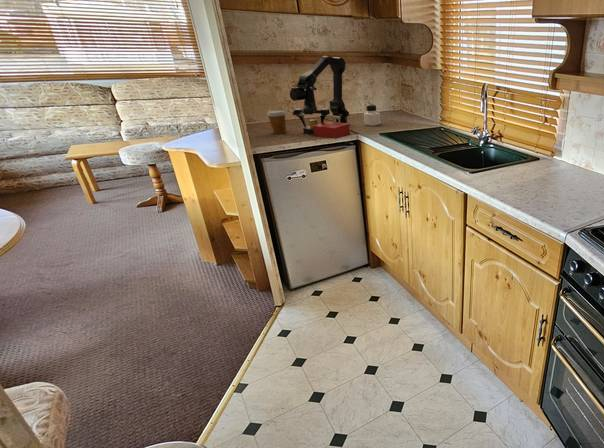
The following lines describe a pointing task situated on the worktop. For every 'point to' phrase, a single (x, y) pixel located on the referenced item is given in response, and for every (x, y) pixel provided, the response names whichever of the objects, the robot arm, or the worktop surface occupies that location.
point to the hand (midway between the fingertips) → (313, 127)
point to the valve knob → (313, 122)
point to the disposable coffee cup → (277, 121)
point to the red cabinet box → (331, 132)
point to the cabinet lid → (332, 124)
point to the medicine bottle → (371, 116)
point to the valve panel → (308, 130)
